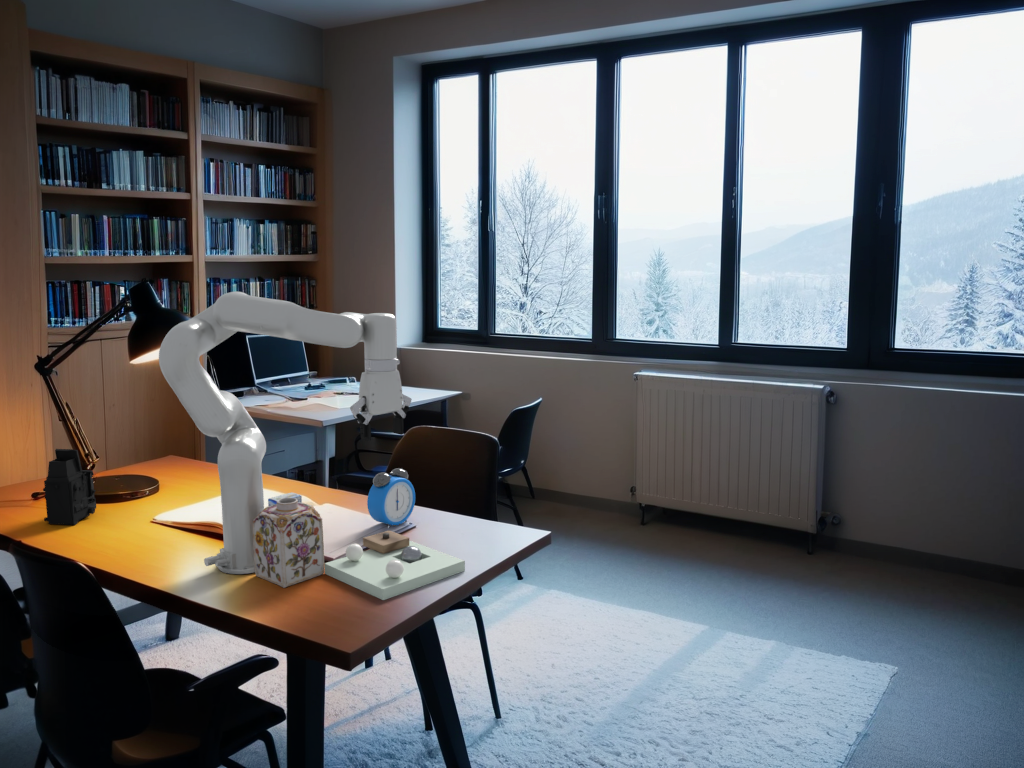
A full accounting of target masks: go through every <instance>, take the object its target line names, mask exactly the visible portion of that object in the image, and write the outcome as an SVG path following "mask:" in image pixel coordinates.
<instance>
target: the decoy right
mask: <svg viewBox="0 0 1024 768" xmlns="http://www.w3.org/2000/svg"><path fill="white" fill-rule="evenodd" d="M403 571H404V566H403V564H402V563H401V562H400V561H399V560H391V561H389V562H388V563H387V565H386V573H387V575H388V576H389V577H391V578H398V577H400V576H401V575H402V573H403Z"/></svg>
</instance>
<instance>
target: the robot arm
mask: <svg viewBox="0 0 1024 768" xmlns="http://www.w3.org/2000/svg"><path fill="white" fill-rule="evenodd" d="M237 332H241V333H250V334H255V335H256V334H257V335H262V336H269V337H273V338H281V339H286V340H291V341H298V342H303V343H307V344H312V345H313V344H314V345H319V346H320V345H321V346H328V347H332V348H333V347H334V348H340V349H341V348H342V349H347V348H352V347H354V346H356V345H357V344H359V343H361V342H363V343H364V344H363V345H364V353H363V354H364V371H363V372H361V375H360V380H359V388H358V389H359V390H358V400H357V401H356V402H355V403H353V404H352V405H351V406H350V407H349V408H350V411H351V413H352V415H353V418H354V419H355V420H356V421H357V423H358V424H359V434H360V435H359V436H360V440H362V441H366V442H370V441H371V440H372V425H371V423H369V422H370V421H371V419H372V418H373V416H378V415H384V414H390V413H391V414H393V418H392V431H393V434H396V435H402V436H403V435H404V428H405V427H404V425H405V424H404V419H405V418H406V416H407V413H408V411H409V410H410V405H411V402H412V398H411V397H409V396H407V395H405V394H403V387H402V379H401V374H400V371H399V370H398V365H400V363H401V361H400V359H399V358H398V356H397V353H398V352H397V351H398V350H397V345H398V344H397V318H396V316H395V315H394V314H392V313H387V312H374V313H358V312H350V311H344V312H341V313H333V312H326V311H320V310H315V309H312V308H311V309H310V308H307V307H304V306H301V305H298V304H296V303H295V302H292V301H287V300H282V299H277V298H276V299H275V298H267V297H260V296H256V295H249V294H248V293H245V292H243V291H230V292H226V293H223V294H222V295H220V296H219V297H217V299H216V300H215V303H213V304H211V305H210V306H209V307H207V308H206V309H204V310H202V311H200V312H199V313H198V314H196V315H194V316H193V317H191V318H189V319H188V320H183V321H181V322H179V323H178V324H176V325H174V326H173V327H172V328H171V329H170V330H169V331H168V332H167V334H165V337H164V338H163V340H162V342H161V344H160V347H159V351H158V363H159V368H160V371H161V373H162V375H163V377H164V379H165V380H166V382H167V384H168V385H169V387H170V388H171V390H172V391H173V393H174V394H175V395H176V396H177V399H178V400H179V402H180V403H181V405H182V406H183V407H184V409H185V410H186V412H187V414H188V415H189V417H190V418H191V419H192V421H193V423H194V424H195V426H196V428H198V430H199V431H200V433H202V434H203V435H205V436H207V437H210V438H217V440H218V441H219V443H221V446H220V448H219V450H218V453H217V454H218V455H217V472H218V476H219V484H220V485H219V487H220V498H221V499H220V500H221V501H220V502H221V515H222V516H221V518H222V534H223V535H222V536H223V548H219V552H218V553H217V554H216V555H214V556H213V555H212V556H209V557H205V558H204V559H203V561H204V562H203V563H204V565H205V566H206V567H209V566H212V565H215V567H217V568H218V570H219V571H220V572H222V573H225V574H230V575H245V574H246V575H247V574H253V573H255V565H254V543H253V520H254V519H255V518H256V517H257V516H258V514H259V513H260V512H261V511H263V510H264V509H265V498H264V482H263V472H262V461H263V458H264V456H265V454H266V452H267V441H266V439H265V436H264V434H263V433H262V431H261V430H260V428H259V426H257V424H256V422H255V421H254V419H253V418H252V416H251V415H250V413H249V412H248V410H247V409H246V407H245V405H244V404H243V403H242V402H241V401H240V399H239V398H238V397H237V396H235V394H233V393H232V392H229V391H226V390H221V389H219V387H218V386H217V385H216V383H215V381H214V380H213V379H212V377H211V375H210V374H209V373H208V371H207V370H206V369H205V368H204V367H203V366H202V364H201V361H200V357H201V356H202V355H204V354H206V353H208V352H209V351H211V350H212V349H214V348H215V347H216V346H218V345H220V344H221V343H223V342H225V341H226V340H228V339H229V338H230V337H231V336H233V335H234V334H236V333H237Z"/></svg>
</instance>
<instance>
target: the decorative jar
mask: <svg viewBox="0 0 1024 768" xmlns="http://www.w3.org/2000/svg"><path fill="white" fill-rule="evenodd" d="M323 526H324V525H323V518H322V516H321V514H320V513H319V512H318V511H317V510H316V508H315V507H314V506H313V505H312V504H308V503H304V502H302V503H298V500H297V499H296V498H281V499H279V500H277V504H275V505H272V506H268V505H267V506H265V507H264V510H263V511H261V512H260V513H259V514H258V516H257V517H256V518H255V519H254V520H253V543H254V565H255V572H254V573H255V576H256V577H258V578H260V579H262V580H264V581H265V580H266V581H268V582H269V583H272V584H274V585H277V586H279V587H281V588H284V589H285V588H287V587H290V586H295V585H296V584H298V583H299V584H300V583H302V582H305V581H308V580H311V579H314V578H317V577H319V576H321V575H322V576H323V575H325V568H324V563H325V549H324V547H325V546H324V545H325V544H324V529H323V528H324V527H323Z"/></svg>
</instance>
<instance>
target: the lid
mask: <svg viewBox="0 0 1024 768" xmlns="http://www.w3.org/2000/svg"><path fill="white" fill-rule="evenodd" d="M409 540H410V537H408V536H405V535H403V534H401V533H397V532H394V531H392V530H385V531H382V532H378V533H376V534H371V535H369V536H365V537H363V538H362V546H363V547H366V548H367V549H369V550H370V549H373V550H375V551H378V552H380V553H383V554H384V553H387V552H390V551H394V550H397V549H400V548H403V547H406V546H409Z"/></svg>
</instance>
